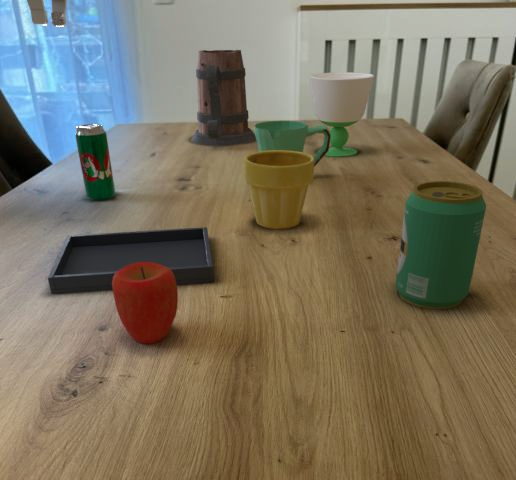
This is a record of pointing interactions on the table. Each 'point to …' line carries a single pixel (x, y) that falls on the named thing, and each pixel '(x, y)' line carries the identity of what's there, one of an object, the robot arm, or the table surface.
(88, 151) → the soda can
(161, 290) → the apple
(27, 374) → the table surface
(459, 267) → the beverage can
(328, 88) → the cup
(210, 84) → the tankard
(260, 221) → the flower pot
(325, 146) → the mug
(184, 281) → the tray
